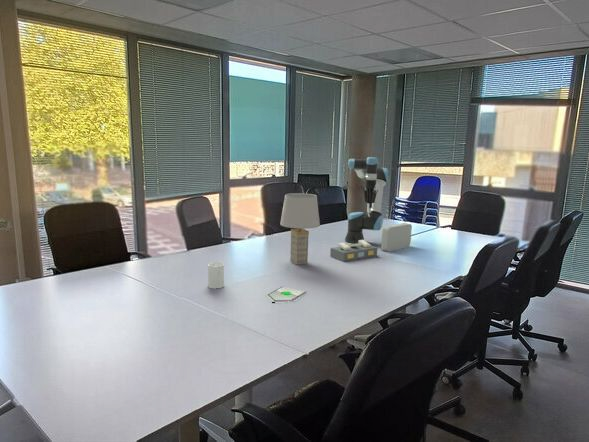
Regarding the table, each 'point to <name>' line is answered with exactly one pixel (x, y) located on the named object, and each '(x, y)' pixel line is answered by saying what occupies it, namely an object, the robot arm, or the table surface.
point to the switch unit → (353, 253)
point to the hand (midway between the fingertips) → (369, 212)
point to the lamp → (300, 223)
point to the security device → (285, 294)
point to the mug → (215, 275)
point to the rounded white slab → (396, 237)
